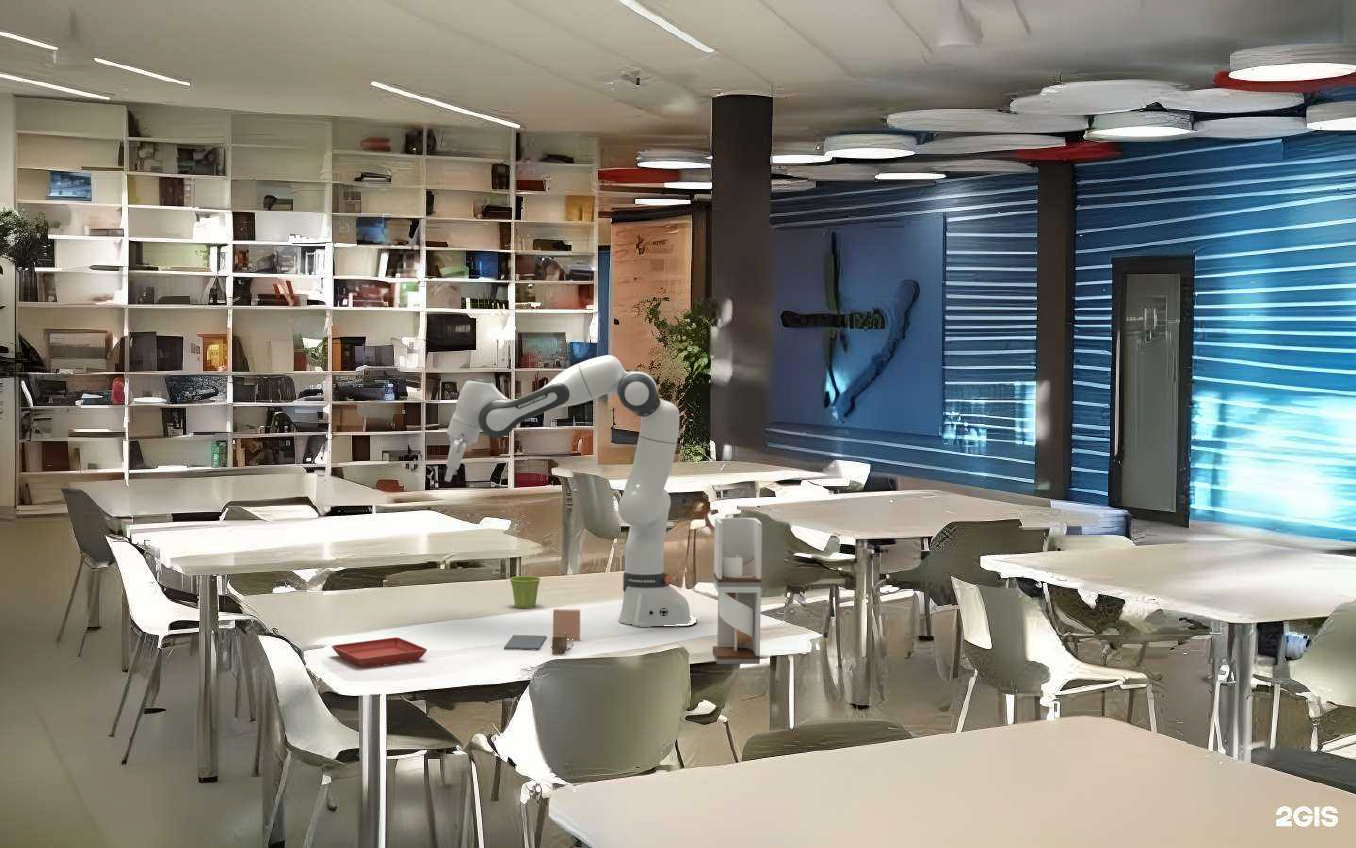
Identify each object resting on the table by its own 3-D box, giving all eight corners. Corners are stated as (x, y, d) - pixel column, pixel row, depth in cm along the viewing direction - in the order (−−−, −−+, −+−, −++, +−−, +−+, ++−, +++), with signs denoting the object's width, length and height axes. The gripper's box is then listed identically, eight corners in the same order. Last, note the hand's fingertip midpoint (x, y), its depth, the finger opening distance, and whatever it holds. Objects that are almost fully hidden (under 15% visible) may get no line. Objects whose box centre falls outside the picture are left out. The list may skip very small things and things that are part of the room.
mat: (546, 638, 369) (546, 635, 369) (538, 650, 353) (538, 648, 353) (513, 637, 369) (513, 635, 369) (503, 649, 354) (503, 647, 353)
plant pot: (525, 610, 409) (525, 581, 409) (502, 607, 415) (503, 578, 415) (547, 606, 417) (547, 578, 417) (524, 603, 423) (524, 575, 422)
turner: (573, 644, 361) (573, 627, 361) (567, 654, 348) (568, 637, 348) (554, 644, 362) (554, 627, 361) (548, 654, 349) (548, 636, 348)
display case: (712, 654, 351) (714, 517, 350) (753, 654, 352) (756, 518, 351) (716, 664, 340) (719, 523, 339) (759, 664, 341) (762, 523, 339)
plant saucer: (359, 671, 328) (359, 657, 328) (330, 658, 343) (330, 644, 343) (428, 662, 339) (428, 649, 339) (397, 649, 353) (397, 637, 353)
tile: (579, 639, 368) (580, 609, 368) (579, 640, 366) (579, 610, 366) (553, 638, 369) (554, 609, 368) (553, 640, 367) (553, 610, 366)
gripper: (473, 441, 382) (457, 488, 383) (474, 430, 402) (459, 474, 403) (451, 434, 381) (435, 481, 382) (454, 423, 401) (439, 467, 402)
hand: (448, 477), depth 393 cm, fingers open, 8 cm apart
